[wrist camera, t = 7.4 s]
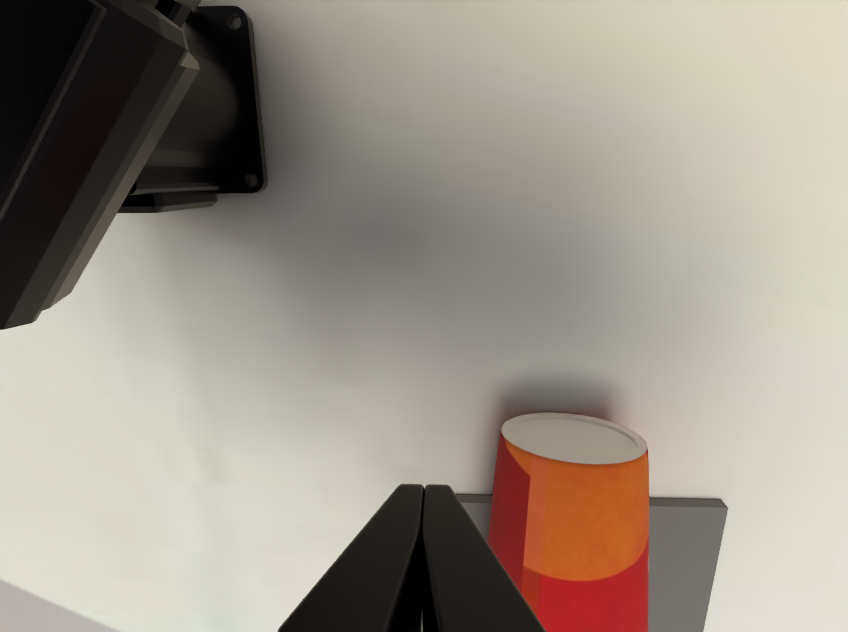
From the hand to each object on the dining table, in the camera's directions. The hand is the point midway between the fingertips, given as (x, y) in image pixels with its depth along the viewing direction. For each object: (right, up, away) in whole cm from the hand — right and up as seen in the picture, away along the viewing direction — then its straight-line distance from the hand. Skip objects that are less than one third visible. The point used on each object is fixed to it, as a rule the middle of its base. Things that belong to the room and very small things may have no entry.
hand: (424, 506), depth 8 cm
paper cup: (+6, -1, +11) cm, 12 cm away
